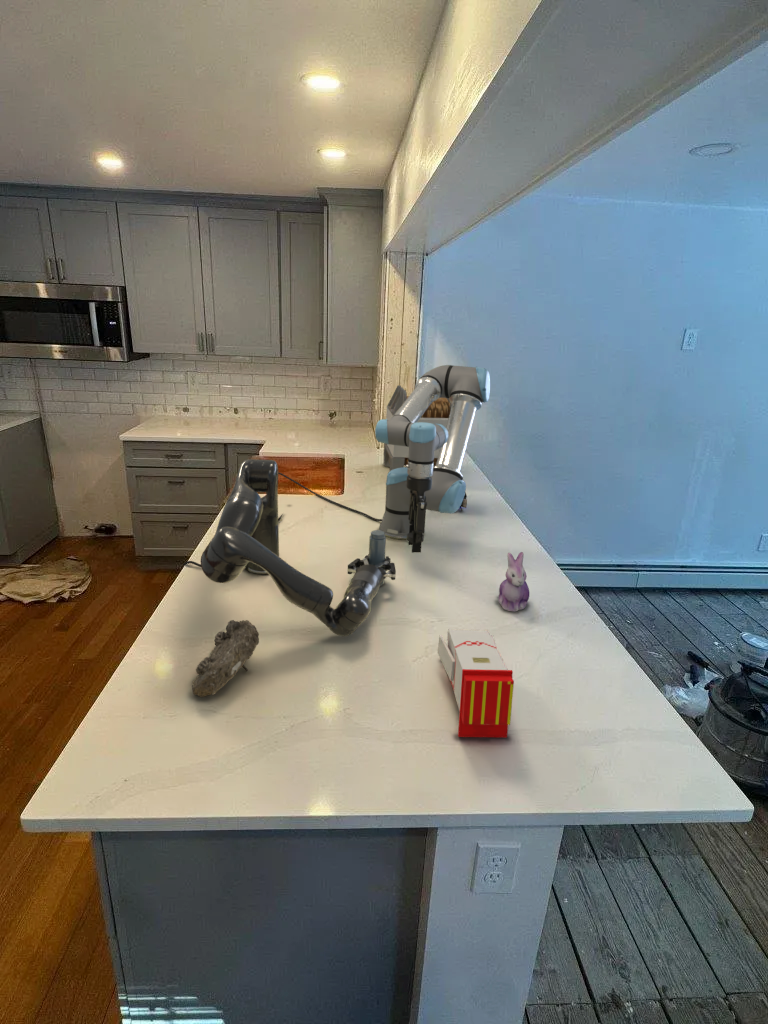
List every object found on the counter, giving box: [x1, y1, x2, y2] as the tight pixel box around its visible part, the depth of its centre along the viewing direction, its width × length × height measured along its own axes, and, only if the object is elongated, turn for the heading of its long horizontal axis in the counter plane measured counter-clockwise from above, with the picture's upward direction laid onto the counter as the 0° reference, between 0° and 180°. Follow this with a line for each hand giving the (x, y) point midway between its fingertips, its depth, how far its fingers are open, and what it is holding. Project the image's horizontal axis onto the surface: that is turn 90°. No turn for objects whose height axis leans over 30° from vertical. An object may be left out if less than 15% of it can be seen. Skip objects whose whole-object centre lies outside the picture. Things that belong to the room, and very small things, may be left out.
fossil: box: [191, 619, 260, 698], centre depth 121 cm, size 22×10×15 cm
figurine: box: [497, 551, 530, 612], centre depth 152 cm, size 9×10×15 cm
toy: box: [437, 628, 515, 738], centre depth 117 cm, size 12×13×30 cm
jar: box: [368, 529, 387, 587], centre depth 161 cm, size 5×5×16 cm
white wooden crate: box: [383, 384, 462, 474], centre depth 268 cm, size 34×33×41 cm
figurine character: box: [459, 491, 468, 512], centre depth 228 cm, size 7×8×15 cm
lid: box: [406, 532, 425, 543], centre depth 174 cm, size 5×5×2 cm
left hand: (378, 558), depth 164 cm, fingers closed on jar, 4 cm apart
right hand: (414, 548), depth 175 cm, fingers closed on lid, 5 cm apart
